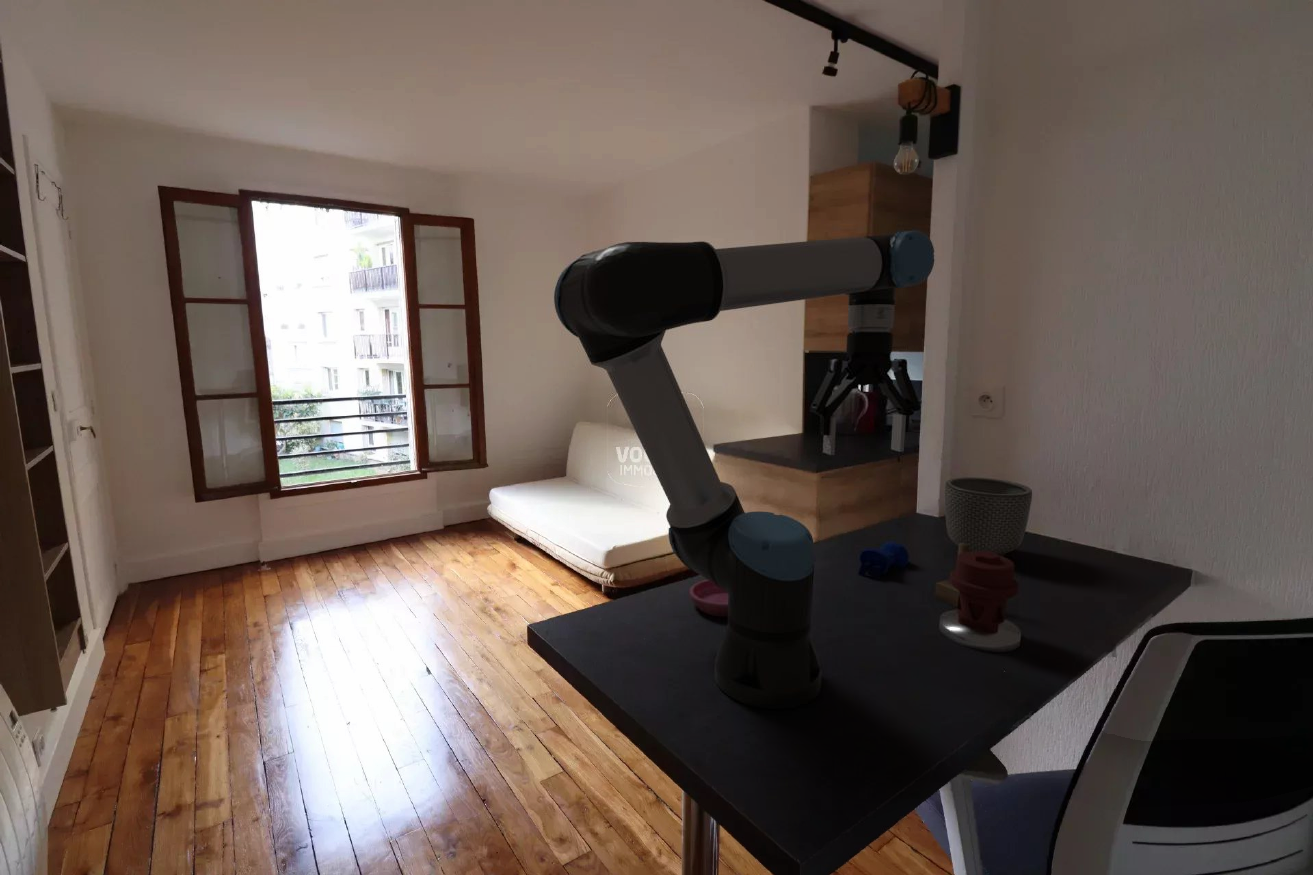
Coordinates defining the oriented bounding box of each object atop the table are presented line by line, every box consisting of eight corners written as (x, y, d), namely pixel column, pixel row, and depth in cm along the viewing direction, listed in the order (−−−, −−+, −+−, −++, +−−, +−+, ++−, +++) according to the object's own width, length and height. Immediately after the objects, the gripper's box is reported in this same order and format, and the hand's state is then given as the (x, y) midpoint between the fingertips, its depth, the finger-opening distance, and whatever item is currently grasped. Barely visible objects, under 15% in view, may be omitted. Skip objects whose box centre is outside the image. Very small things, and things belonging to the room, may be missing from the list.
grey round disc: (973, 655, 95) (974, 646, 95) (923, 621, 107) (924, 613, 106) (1038, 646, 98) (1039, 638, 98) (982, 614, 109) (983, 606, 109)
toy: (884, 585, 124) (914, 563, 134) (885, 556, 123) (916, 536, 133) (852, 576, 129) (884, 556, 139) (853, 548, 128) (885, 529, 138)
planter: (1042, 567, 132) (1050, 495, 129) (962, 567, 132) (968, 495, 129) (999, 541, 149) (1005, 477, 146) (928, 541, 149) (932, 476, 146)
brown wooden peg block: (963, 609, 111) (968, 552, 109) (934, 597, 116) (939, 542, 115) (984, 603, 114) (989, 546, 112) (955, 591, 119) (960, 537, 117)
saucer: (679, 597, 117) (679, 581, 116) (738, 589, 121) (738, 573, 120) (705, 626, 105) (705, 608, 105) (769, 615, 109) (770, 598, 109)
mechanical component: (978, 607, 108) (1028, 633, 99) (933, 615, 105) (980, 642, 96) (984, 541, 106) (1036, 560, 97) (938, 547, 103) (987, 568, 94)
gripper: (814, 330, 99) (808, 458, 103) (947, 331, 105) (938, 452, 108) (793, 331, 106) (789, 450, 110) (919, 331, 112) (911, 445, 115)
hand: (863, 452), depth 109 cm, fingers open, 13 cm apart
